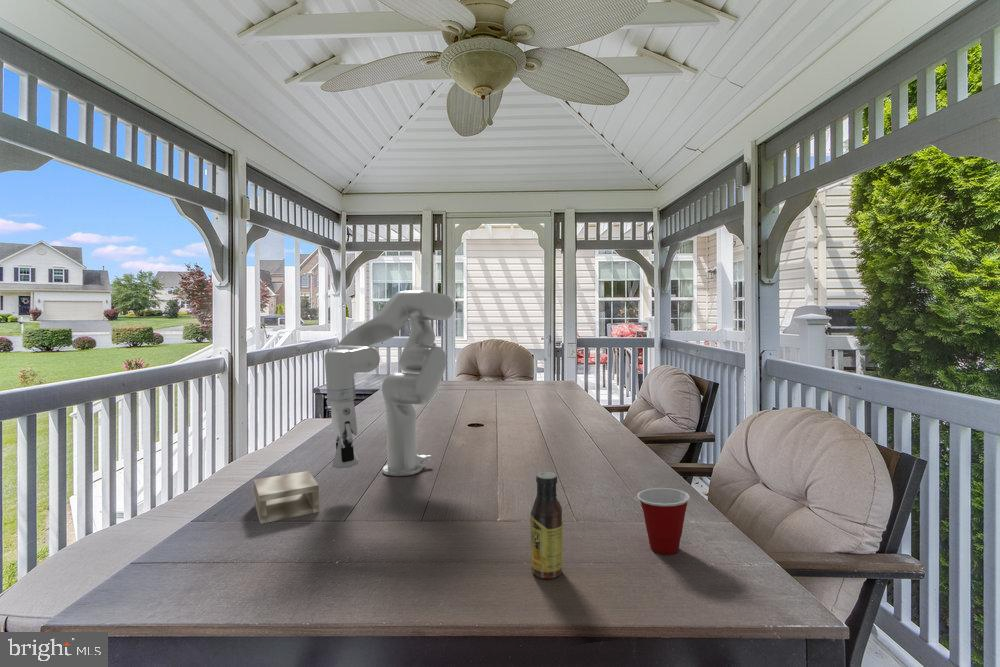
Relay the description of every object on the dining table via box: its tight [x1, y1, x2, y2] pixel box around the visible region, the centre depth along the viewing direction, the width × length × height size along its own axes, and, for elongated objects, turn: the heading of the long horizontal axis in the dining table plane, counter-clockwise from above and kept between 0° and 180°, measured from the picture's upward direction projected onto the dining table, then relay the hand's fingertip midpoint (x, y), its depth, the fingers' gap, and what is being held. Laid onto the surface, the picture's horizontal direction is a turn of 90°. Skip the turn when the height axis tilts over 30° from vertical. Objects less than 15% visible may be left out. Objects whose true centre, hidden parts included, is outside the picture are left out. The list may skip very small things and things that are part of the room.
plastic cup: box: [636, 487, 691, 556], centre depth 111 cm, size 11×11×12 cm
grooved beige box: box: [253, 470, 320, 525], centre depth 137 cm, size 14×14×7 cm
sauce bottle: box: [530, 471, 564, 579], centre depth 102 cm, size 7×6×20 cm
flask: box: [331, 434, 360, 469], centre depth 145 cm, size 7×7×10 cm
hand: (345, 457), depth 145 cm, fingers closed on flask, 5 cm apart
